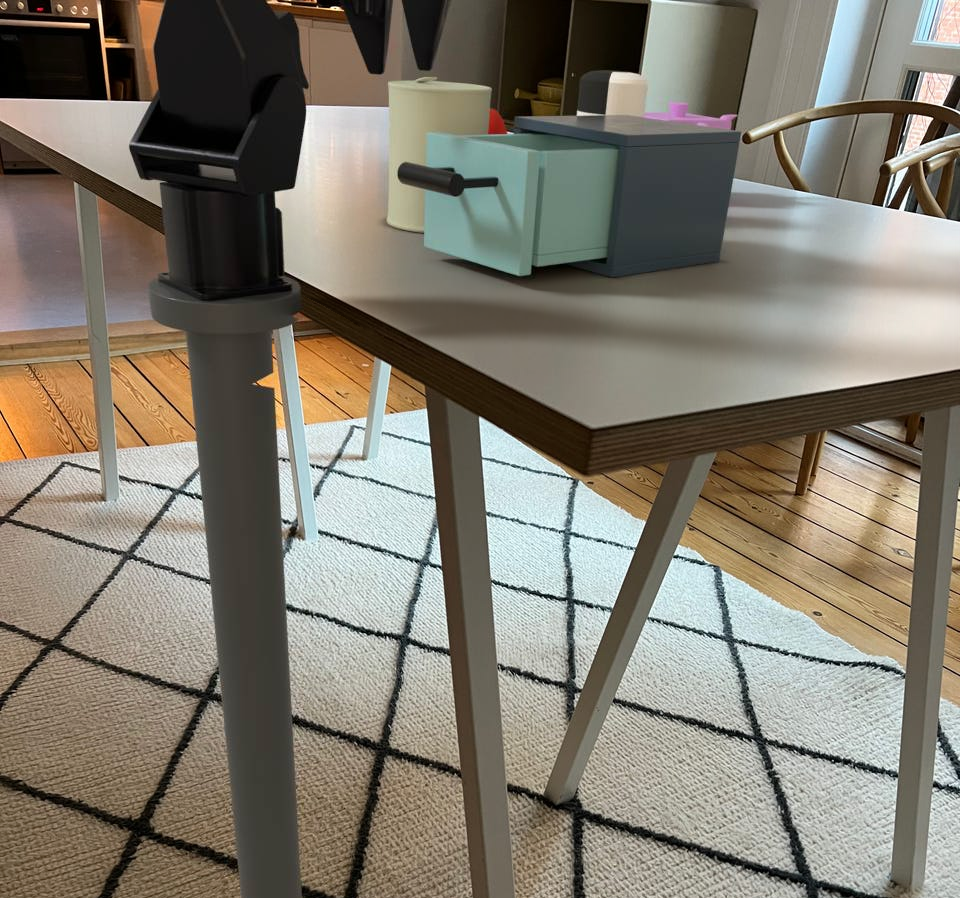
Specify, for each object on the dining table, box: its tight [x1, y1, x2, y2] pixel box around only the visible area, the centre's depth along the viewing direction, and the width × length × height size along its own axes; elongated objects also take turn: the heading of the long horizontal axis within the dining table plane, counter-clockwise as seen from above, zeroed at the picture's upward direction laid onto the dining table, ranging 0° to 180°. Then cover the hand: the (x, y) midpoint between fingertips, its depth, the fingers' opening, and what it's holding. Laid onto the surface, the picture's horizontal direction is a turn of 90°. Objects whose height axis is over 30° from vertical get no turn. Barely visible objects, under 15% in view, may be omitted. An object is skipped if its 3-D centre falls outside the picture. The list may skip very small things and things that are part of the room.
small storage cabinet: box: [513, 115, 742, 278], centre depth 85 cm, size 14×13×10 cm
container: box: [576, 69, 649, 117], centre depth 100 cm, size 8×8×13 cm
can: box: [386, 76, 493, 234], centre depth 91 cm, size 9×9×12 cm
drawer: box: [397, 132, 620, 277], centre depth 78 cm, size 17×11×8 cm, turn 131°
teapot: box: [644, 101, 739, 130], centre depth 116 cm, size 18×13×10 cm
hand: (401, 72), depth 76 cm, fingers open, 9 cm apart
